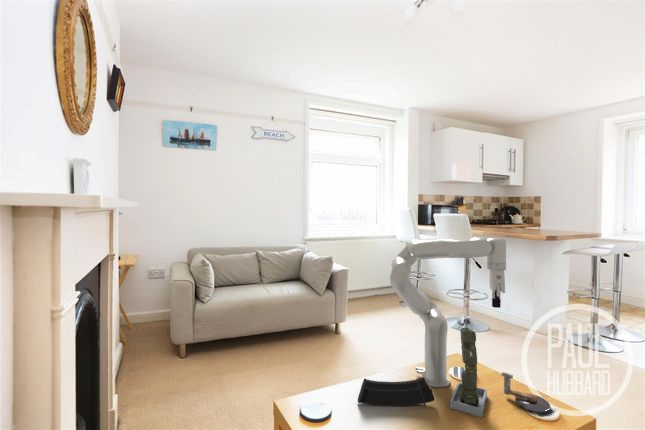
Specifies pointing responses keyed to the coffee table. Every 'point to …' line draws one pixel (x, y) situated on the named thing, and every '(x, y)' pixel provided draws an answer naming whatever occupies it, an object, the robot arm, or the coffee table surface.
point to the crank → (507, 391)
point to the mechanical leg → (469, 368)
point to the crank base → (533, 405)
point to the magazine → (395, 393)
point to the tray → (466, 408)
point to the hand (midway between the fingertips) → (496, 306)
